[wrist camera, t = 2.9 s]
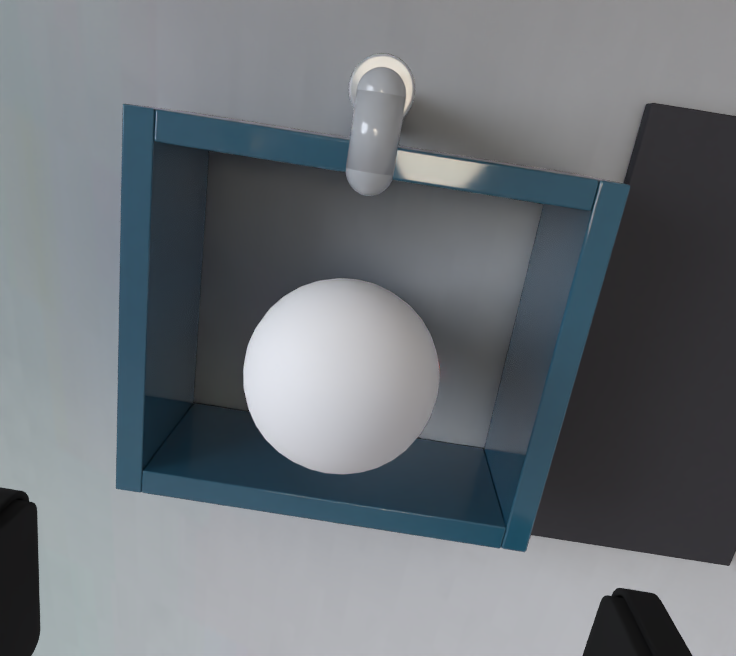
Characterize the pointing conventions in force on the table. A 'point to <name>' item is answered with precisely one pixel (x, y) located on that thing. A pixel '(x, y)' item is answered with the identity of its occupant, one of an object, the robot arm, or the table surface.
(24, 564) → the robot arm
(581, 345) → the sink
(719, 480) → the mat
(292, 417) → the lightbulb
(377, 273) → the table surface
